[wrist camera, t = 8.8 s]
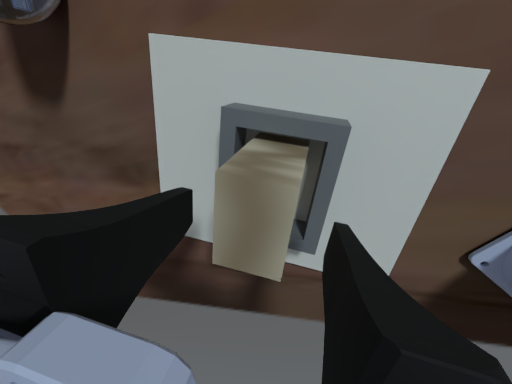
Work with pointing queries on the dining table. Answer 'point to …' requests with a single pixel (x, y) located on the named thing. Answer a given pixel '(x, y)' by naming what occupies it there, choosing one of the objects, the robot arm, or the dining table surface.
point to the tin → (26, 11)
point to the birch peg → (258, 204)
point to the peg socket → (311, 132)
